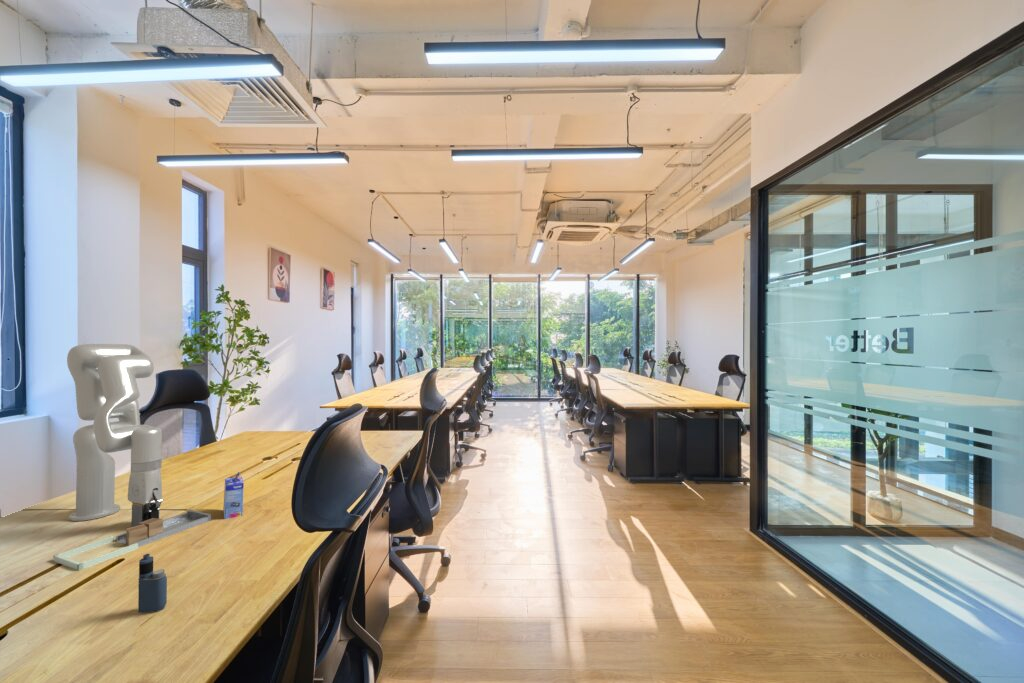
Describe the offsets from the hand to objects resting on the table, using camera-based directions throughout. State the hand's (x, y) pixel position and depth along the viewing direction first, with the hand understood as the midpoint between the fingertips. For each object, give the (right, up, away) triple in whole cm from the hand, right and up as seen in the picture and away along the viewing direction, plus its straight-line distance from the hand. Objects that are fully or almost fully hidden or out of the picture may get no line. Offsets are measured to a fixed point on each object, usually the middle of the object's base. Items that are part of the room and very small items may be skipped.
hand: (145, 521), depth 132 cm
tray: (+4, -2, -19) cm, 20 cm away
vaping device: (+39, -1, -42) cm, 58 cm away
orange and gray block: (0, -2, 0) cm, 2 cm away
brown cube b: (+8, -1, -12) cm, 14 cm away
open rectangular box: (+10, -2, -5) cm, 11 cm away
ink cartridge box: (+22, -3, +9) cm, 24 cm away
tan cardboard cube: (+8, -1, -7) cm, 11 cm away
